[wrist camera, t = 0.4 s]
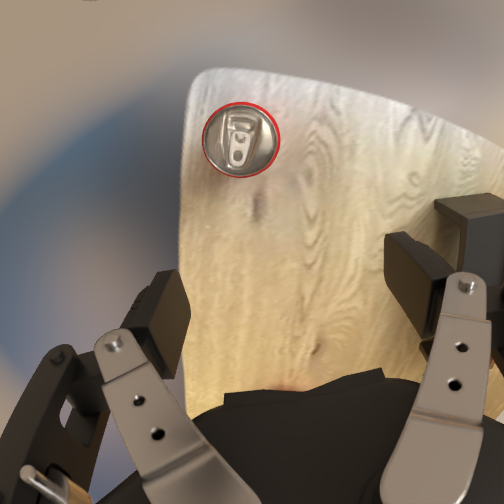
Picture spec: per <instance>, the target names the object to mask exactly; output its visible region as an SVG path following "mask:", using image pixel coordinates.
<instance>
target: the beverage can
mask: <svg viewBox="0 0 504 504" xmlns="http://www.w3.org/2000/svg"><path fill="white" fill-rule="evenodd" d="M202 147H203V151H204V154H205V156H206V158H207V160H208V161H209V162H210V164H211V165H212V166H213V167H214V168H215V169H216V170H218V171H219V172H221V173H223V174H225V175H228V176H231V177H236V178H246V177H251V176H254V175H257V174H259V173H261V172H263V171H264V170H266V169H267V168H268V167H270V165H271V164H272V163H273V161H274V160H275V158H276V156H277V154H278V151H279V148H280V132H279V128H278V126H277V123H276V121H275V120H274V118H273V117H272V116H271V115H270V114H269V113H268V112H267V111H266V110H265V109H263V108H262V107H260V106H258V105H255V104H252V103H248V102H235V103H230V104H227V105H225V106H223V107H221V108H219V109H218V110H216V111H215V112H214V113H213V114H212V115H211V116H210V118H209V119H208V121H207V122H206V124H205V127H204V129H203V134H202Z"/></svg>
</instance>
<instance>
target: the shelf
mask: <svg viewBox="0 0 504 504" xmlns="http://www.w3.org/2000/svg"><path fill="white" fill-rule="evenodd" d="M434 209H436V210H437V211H439V212H440V213H442V214H444V215H445V216H447V217H449V218H450V219H452V220H453V221H455V222H456V223H458V224H460V225H461V234H460V245H459V255H458V263H457V271H456V272H469V273H473V274H475V275H477V276H479V277H480V278H482V279H483V280H484V282H485V283H486V286H500V285H503V281H504V199H502V198H499V197H497V196H495V195H493V194H491V193H484V194H476V195H468V196H460V197H452V198H444V199H436V200H435V206H434ZM433 341H434V339H433V340H430V341H427V342H423V343H420V347H419V349H420V351H421V353H422V354H423V356H424V358H425V360H426V361H427V362H428V359H429V356H430V352H431V348H432V345H433ZM494 364H495V362H494V360H493V359H492V357H491V355H490V366H489V369H491V368H493V366H494Z"/></svg>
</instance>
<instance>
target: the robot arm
mask: <svg viewBox="0 0 504 504" xmlns="http://www.w3.org/2000/svg"><path fill="white" fill-rule="evenodd" d="M384 277H385V281H386V284H387V286H388V288H389V289H390V291H391V292H392V294H393V295H394V297H395V298H396V300H397V301H398V303H399V304H400V306H401V307H402V309H403V310H404V312H405V313H406V315H407V316H408V318H409V319H410V321H411V323H412V324H413V326H414V327H415V329H416V331H417V332H418V334H419V335H420V337H421V339H424V338H428V337H431V336H434V341H433V345H432V348H431V352H430V356H429V359H428V362H427V366H426V369H425V372H424V375H423V378H422V381H421V384H420V383H417V382H414V381H410V380H406V379H399V378H385V376H384V373H383V371H382V368H377V369H373V370H369V371H365V372H360V373H356V374H351V375H347V376H343V377H341V378H339V379H336V380H334V381H331V382H329V383H326V384H324V385H322V386H319V387H317V388H314V389H311V390H309V391H304V392H296V391H278V390H264V389H262V390H254V391H244V392H234V393H224V404H223V405H221V406H218V407H215V408H213V409H210V410H208V411H206V412H204V413H202V414H200V415H199V416H197V417H195V418H194V419H193V420H191V419H190V418H189V417H188V415H187V414H186V413H185V411H184V410H183V408H182V407H181V406H180V404H179V403H178V402H177V400H176V399H175V397H174V396H173V395H172V393H171V392H170V391H169V389H168V387H167V386H166V384H165V383H164V381H163V380H162V379H174V378H175V374H176V370H177V366H178V362H179V359H180V355H181V351H182V347H183V344H184V340H185V336H186V333H187V329H188V325H189V322H190V318H191V309H190V304H189V301H188V298H187V295H186V292H185V289H184V286H183V283H182V280H181V277H180V274H179V272H178V271H177V270H176V269H173V270H167V271H161V272H157V273H156V275H155V277H154V279H153V281H152V282H151V284H150V286H147V287H146V288H145V289H143V290H142V291H141V292H140V293H139V294H138V296H137V298H136V299H135V301H134V303H133V304H132V306H131V308H130V309H131V310H129V312H128V314H127V315H126V317H125V319H124V321H123V323H122V324H121V326H120V328H119V329H115V330H111V331H109V332H107V333H105V334H104V335H103V336H101V337H100V338H99V339H98V340H97V342H96V343H95V346H94V351H90V352H87V353H83V354H80V355H77V353H76V352H75V350H74V349H73V347H72V346H71V345H69V344H62V345H59V346H56V347H55V348H53V349H51V350H50V351H49V352H48V353H47V354H46V355H45V356H44V358H43V359H42V361H41V363H40V364H39V366H38V368H37V369H36V371H35V373H34V374H33V376H32V378H31V380H30V381H29V383H28V385H27V387H26V389H25V390H24V392H23V394H22V396H21V398H20V400H19V401H18V403H17V405H16V407H15V409H14V411H13V413H12V415H11V417H10V419H9V421H8V423H7V425H6V427H5V429H4V431H3V433H2V435H1V438H0V504H91V499H90V496H89V494H88V491H89V487H90V483H91V478H92V475H93V471H94V467H95V463H96V459H97V456H98V452H99V449H100V445H101V441H102V438H103V435H104V431H105V428H106V425H107V421H108V418H109V415H110V412H111V413H112V416H113V418H114V421H115V423H116V426H117V428H118V430H119V432H120V435H121V437H122V439H123V441H124V444H125V446H126V448H127V450H128V452H129V454H130V456H131V458H132V460H133V462H134V464H135V466H136V468H137V470H136V471H135V472H134V473H132V474H131V475H130V476H129V477H128V478H127V479H125V480H124V481H123V482H122V483H121V484H119V485H118V486H117V487H116V488H115V489H113V490H112V491H111V492H110V493H108V494H107V495H106V496H105V497H104V498H102V499H101V500H100V501H98V502H97V503H96V504H504V424H502V423H500V422H498V421H496V420H494V419H492V418H490V417H487V416H485V415H483V412H484V406H485V399H486V393H487V385H488V376H489V366H490V355H491V357H492V359H493V360H494V362H495V363H496V365H497V367H498V368H499V370H500V372H501V373H502V375H503V377H504V281H503V285H500V286H486V283H485V282H484V280H483V279H482V278H480V277H479V276H477V275H475V274H473V273H469V272H456V271H455V270H454V269H453V268H452V267H451V266H450V265H449V264H448V263H447V262H446V261H444V260H443V259H441V257H440V256H439V255H438V254H437V253H435V251H434V250H432V249H431V248H430V247H429V246H428V245H426V244H423V243H421V242H419V241H415V240H414V239H413V238H411V237H410V236H409V235H408V234H407V233H406V232H405V231H401V232H395V233H389V234H386V235H385V238H384ZM65 399H67V400H68V402H69V403H70V404H71V405H72V407H73V408H72V411H71V413H70V416H69V418H68V421H67V423H66V426H65V428H64V427H63V426H62V424H61V422H60V417H59V415H60V410H61V408H62V406H63V404H64V401H65Z"/></svg>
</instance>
